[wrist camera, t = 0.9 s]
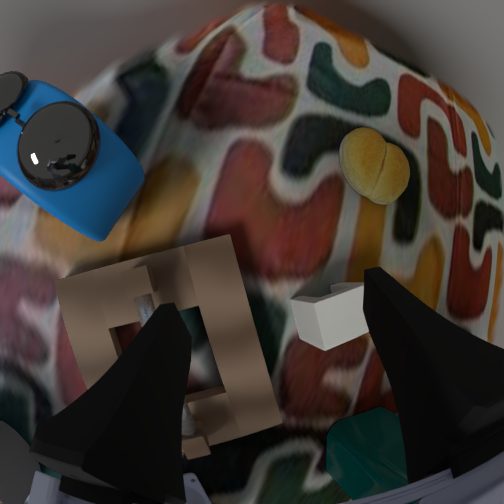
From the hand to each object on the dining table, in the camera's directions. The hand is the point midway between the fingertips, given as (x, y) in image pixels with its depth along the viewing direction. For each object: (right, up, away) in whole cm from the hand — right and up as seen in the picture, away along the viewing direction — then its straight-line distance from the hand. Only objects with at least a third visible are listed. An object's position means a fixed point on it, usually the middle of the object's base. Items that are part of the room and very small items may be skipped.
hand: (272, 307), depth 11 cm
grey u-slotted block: (+6, -4, +17) cm, 19 cm away
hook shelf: (-8, -7, +14) cm, 18 cm away
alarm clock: (-16, +8, +14) cm, 23 cm away
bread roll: (+13, +12, +21) cm, 27 cm away
